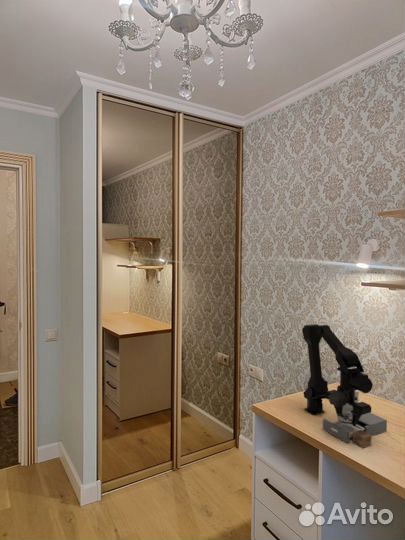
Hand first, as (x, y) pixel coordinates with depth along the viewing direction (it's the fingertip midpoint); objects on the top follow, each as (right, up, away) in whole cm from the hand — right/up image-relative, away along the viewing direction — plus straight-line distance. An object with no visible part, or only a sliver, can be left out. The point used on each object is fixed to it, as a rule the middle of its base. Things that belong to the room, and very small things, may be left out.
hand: (346, 422), depth 150 cm
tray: (-1, -4, 0) cm, 4 cm away
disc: (0, +1, 0) cm, 1 cm away
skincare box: (+7, -4, +15) cm, 17 cm away
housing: (+9, -4, +4) cm, 10 cm away
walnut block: (+2, -5, -9) cm, 10 cm away
